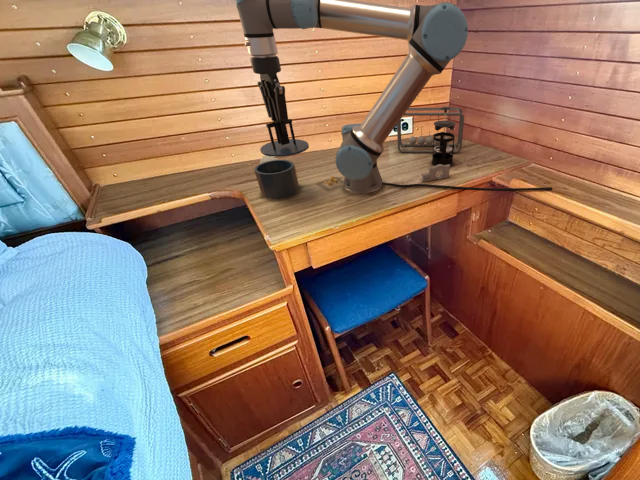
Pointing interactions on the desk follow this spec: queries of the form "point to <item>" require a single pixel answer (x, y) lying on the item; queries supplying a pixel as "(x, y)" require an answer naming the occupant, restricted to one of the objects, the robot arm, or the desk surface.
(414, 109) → the newton's cradle
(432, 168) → the garden wall model
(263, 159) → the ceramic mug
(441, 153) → the french press
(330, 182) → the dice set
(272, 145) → the lid
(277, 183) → the pot
